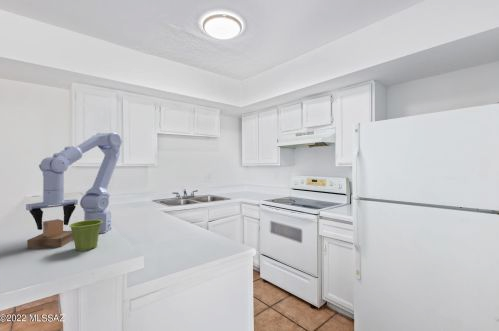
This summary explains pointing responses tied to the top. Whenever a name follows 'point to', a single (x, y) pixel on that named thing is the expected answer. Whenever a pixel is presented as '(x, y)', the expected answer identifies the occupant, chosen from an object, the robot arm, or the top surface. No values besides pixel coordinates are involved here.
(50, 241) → the walnut plinth
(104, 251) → the top surface
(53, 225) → the terracotta block
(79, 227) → the plant pot
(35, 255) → the top surface
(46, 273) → the top surface
